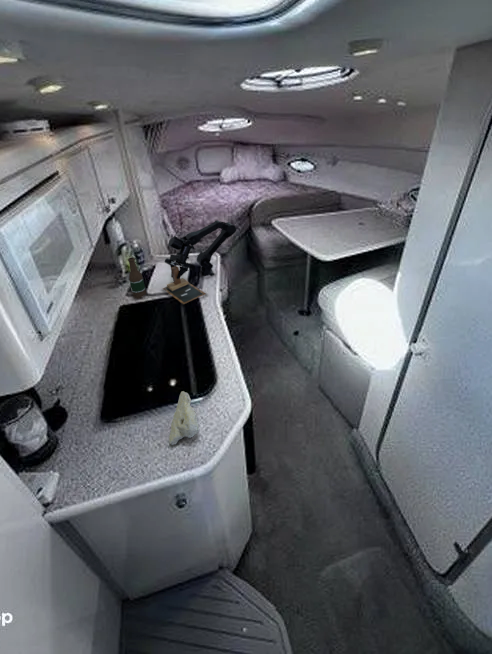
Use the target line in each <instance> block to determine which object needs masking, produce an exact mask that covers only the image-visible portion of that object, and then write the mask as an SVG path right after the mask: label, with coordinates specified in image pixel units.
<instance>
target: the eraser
mask: <svg viewBox="0 0 492 654" xmlns="http://www.w3.org/2000/svg"><path fill="white" fill-rule="evenodd" d="M179 270H180V267H179V266H178V265H177V266H174V267H172V268H171V267H170V273H171V272H172V277H173V278H172V277H171V278H172V282H170V283H166V287H167V289H168V290H170V291H171V292H175V291H177V290H179V289H182V288H184V287H186V286H189V285H188V282H189V281H188V280H187V279H185V278H184V277H182V278H181V277H180V278H179V279H177V275H178V273H179ZM171 292H170V293H171Z"/></svg>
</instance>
